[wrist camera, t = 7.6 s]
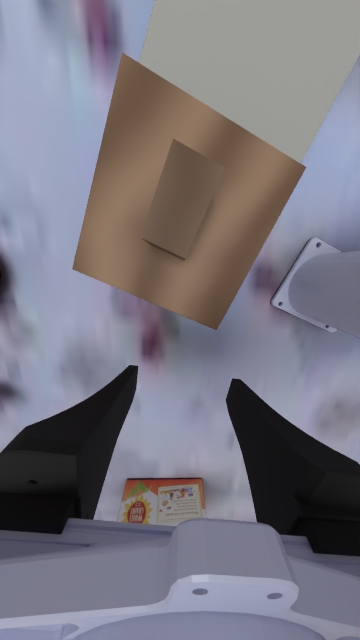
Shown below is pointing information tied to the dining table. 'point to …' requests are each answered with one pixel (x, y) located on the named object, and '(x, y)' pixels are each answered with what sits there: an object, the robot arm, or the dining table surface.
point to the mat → (258, 60)
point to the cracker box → (162, 501)
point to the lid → (179, 198)
